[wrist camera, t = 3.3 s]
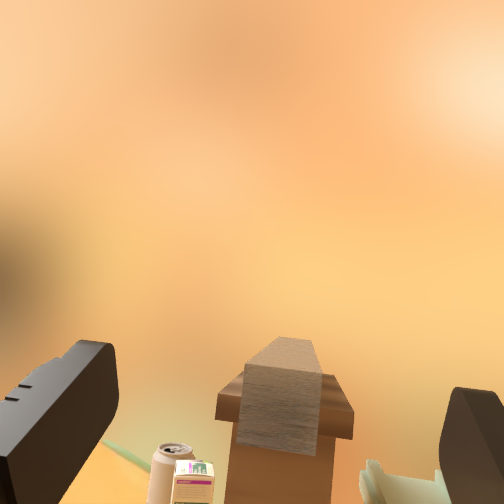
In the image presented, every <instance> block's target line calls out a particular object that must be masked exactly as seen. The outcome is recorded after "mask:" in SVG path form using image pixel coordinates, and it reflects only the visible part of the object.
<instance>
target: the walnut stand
mask: <svg viewBox="0 0 504 504" xmlns="http://www.w3.org/2000/svg"><path fill="white" fill-rule="evenodd" d="M243 377H244V371H243V372H242V373H240V374H239V375H238V376H237V377H236V378H235V379H234V380H232V381H231V382H230V383H229V384H228V385H227V386H226V387H225V388H224V389H222V390H221V391H220V392H219V393H218V398H217V406H216V414H215V420H222V421H229V422H233V429H232V438H231V447H230V455H229V465H228V474H227V482H226V491H225V500H224V504H330V503H331V490H332V478H333V465H334V452H335V439H336V438H343V439H349V440H352V437H353V424H354V411H353V409H352V407H351V405H350V404H349V402H348V400H347V398H346V396H345V394H344V393H343V391H342V389H341V387H340V385H339V383H338V382H337V380H336V378H335V376H334V375H328V374H322V386H321V398H320V409H319V421H318V433H317V445H316V456H311V455H304V454H298V453H291V452H285V451H279V450H272V449H266V448H259V447H253V446H247V445H240V444H236V440H237V431H238V422H239V413H240V404H241V395H242V386H243Z"/></svg>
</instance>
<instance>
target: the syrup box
mask: <svg viewBox="0 0 504 504" xmlns="http://www.w3.org/2000/svg"><path fill="white" fill-rule="evenodd" d="M214 482H215V476H214V469H213V463H212V462H209V461H202V460H177V461H176V465H175V470H174V478H173V486H172V495H171V503H170V504H212V502H213V491H214Z"/></svg>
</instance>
